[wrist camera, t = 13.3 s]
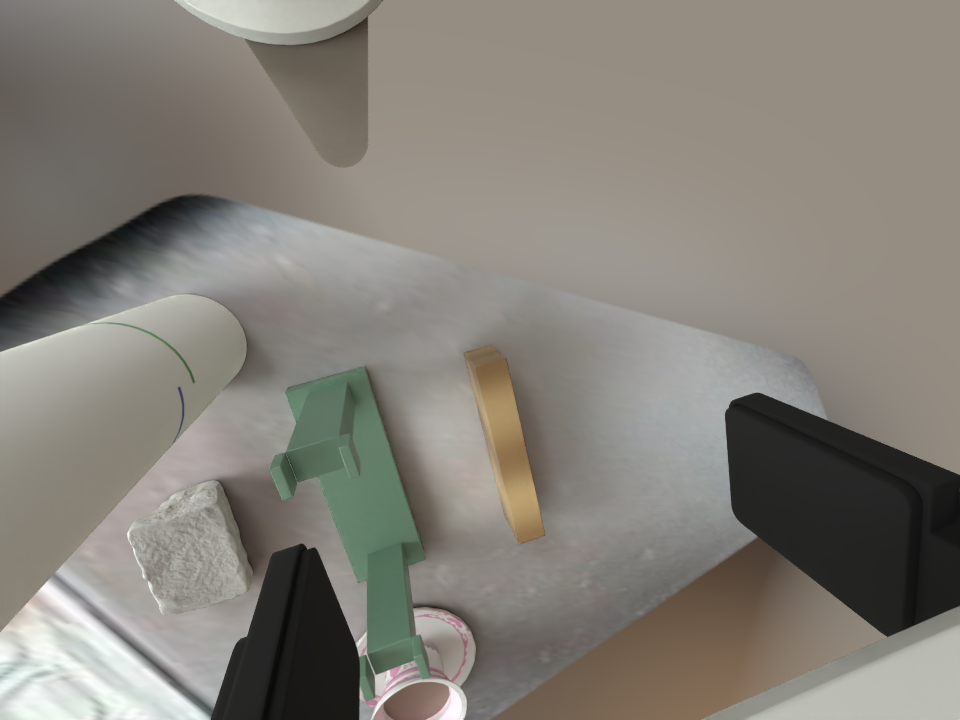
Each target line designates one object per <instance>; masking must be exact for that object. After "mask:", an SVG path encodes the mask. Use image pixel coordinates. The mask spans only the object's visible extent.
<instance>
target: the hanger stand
mask: <svg viewBox="0 0 960 720" xmlns="http://www.w3.org/2000/svg"><path fill="white" fill-rule="evenodd" d="M285 394H286V396H287V399H288V402H289V404H290V407H291V409H292V412H293V415H294V417H295V420H296V426H295V429H294V431H293V434H292V437H291V439H290V442H289V445H288V447H287V450H286V453H282V454H278V455H275V456H274V459H273V461H272V463H271V466H270V468H269V470H270V473H271V475H272V477H273V480H274V482H275V485H276V487H277V489H278V492H279V494H280V497H281V499H282V500H287V499H290V498H292V497H293V496H294V492H295V489H296V485H297V481H298V482H300V481H304V480H307V479H310V478H313V477H316V476H317V477H318V480H319V482H320V485H321V488H322V490H323V493H324V495H325V498H326V501H327V503H328V506H329V508H330V511H331V514H332V516H333V519H334V521H335V524H336V527H337V529H338V532H339V534H340V537H341V540H342V542H343V545H344V548H345V550H346V553H347V555H348V558H349V561H350V563H351V566H352V568H353V571H354V574H355V576H356V579H357V581H358V583H360V582H363V581H366V580H367V655H363V656H360V657H359V660H360V688H361V690H362V693H363V695H364V697H365V700H366V702H367V701H370V700H372V699H375V675H378V674H380V673H383V672H386V671H388V670H391V669H393V668H396V667H399V666H401V665H404V664H406V663H409V662H412V661H414V660H415V662H416V665H417V667H418V670H419V673H420V676H421V679H422V680H424V679H426V678H429V677H430V676H431V674H430V667H429V660H428V655H427V652H426V649H425V646H424V643H423V640H422V637H421V635H420V634H419V635H416V628H415V620H414V611H413V603H412V594H411V586H410V578H409V569H408V565H411V564H414V563H417V562H420V561H423V560H425V559H426V558H425V552H424V548H423V545H422V542H421V539H420V536H419V533H418V530H417V527H416V523H415V520H414V517H413V514H412V511H411V508H410V505H409V502H408V499H407V495H406V492H405V489H404V486H403V483H402V480H401V477H400V474H399V470H398V467H397V464H396V461H395V458H394V455H393V452H392V449H391V446H390V442H389V439H388V436H387V433H386V430H385V427H384V424H383V421H382V418H381V414H380V411H379V408H378V405H377V402H376V399H375V396H374V393H373V390H372V386H371V383H370V380H369V377H368V374H367V371H366V368H365V366H364V367H360V368H357V369H353V370H350V371H346V372H343V373H339V374H336V375H332V376H328V377H325V378H321V379H318V380H314V381H311V382H307V383H304V384H300V385H297V386H293V387H290V388H288V389H287V391H286V393H285ZM286 454H287V456H288V458H287V456H286ZM288 459H289V461H290V463H289V461H288ZM290 464H291V466H292V468H291V466H290ZM292 469H293V471H294V473H293V471H292ZM294 474H295V476H296V478H295V476H294ZM296 479H297V481H296ZM367 656H368V658H369V660H368V658H367ZM369 661H370V663H371V665H370V663H369ZM371 666H372V668H373V670H372V668H371ZM373 671H374V673H375V675H374V673H373Z"/></svg>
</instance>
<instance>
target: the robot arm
mask: <svg viewBox="0 0 960 720" xmlns="http://www.w3.org/2000/svg"><path fill="white" fill-rule="evenodd" d="M725 422H726V436H727V450H728V463H729V477H730V491H731V505H732V510H733V513H734V515H735V516H736V518H737V519H738V520H739V522H741V523H742V524H743V525H744V526H745V527H747V528H748V529H749V530H751V531H752V532H753V533H754V534H756V535H757V536H758V537H759V538H761V539H762V540H763V541H765V542H766V543H767V544H768V545H770V546H771V547H772V548H774V549H775V550H776V551H777V552H779V553H780V554H781V555H783V556H784V557H785V558H786V559H788V560H789V561H790V562H791V563H793V564H794V565H795V566H797V567H798V568H799V569H800V570H802V571H803V572H804V573H806V574H807V575H808V576H809V577H811V578H812V579H813V580H815V581H816V582H817V583H818V584H820V585H821V586H822V587H823V588H825V589H826V590H827V591H829V592H830V593H831V594H833V595H834V596H835V597H836V598H838V599H839V600H840V601H842V602H843V603H844V604H845V605H847V606H848V607H849V608H850V609H852V610H853V611H854V612H855V613H857V614H858V615H859V616H861V617H862V618H863V619H864V620H866V621H867V622H868V623H870V624H871V625H872V626H873V627H875V628H876V629H877V630H879V631H880V632H881V633H883V634H884V635H886V636H887V638H885V639H882V640H880V641H878V642H875V643H873V644H871V645H869V646H866V647H864V648H862V649H859V650H857V651H855V652H853V653H850V654H848V655H846V656H843V657H841V658H839V659H836V660H834V661H832V662H830V663H827V664H825V665H823V666H820V667H818V668H816V669H814V670H812V671H809V672H807V673H805V674H802V675H800V676H798V677H796V678H793V679H791V680H789V681H787V682H784V683H782V684H780V685H778V686H775V687H773V688H771V689H768V690H766V691H764V692H762V693H759V694H757V695H755V696H753V697H750V698H748V699H746V700H744V701H742V702H739V703H737V704H735V705H733V706H730V707H728V708H726V709H723V710H721V711H719V712H717V713H714V714H712V715H710V716H708V717H706V718H703V719H701V720H960V475H958V474H956V473H954V472H951V471H949V470H946V469H944V468H941V467H939V466H936V465H934V464H932V463H929V462H927V461H924V460H922V459H919V458H917V457H915V456H912V455H909V454H907V453H905V452H902V451H900V450H898V449H895V448H893V447H890V446H888V445H885V444H883V443H881V442H878V441H875V440H873V439H871V438H868V437H866V436H864V435H861V434H859V433H856V432H854V431H851V430H849V429H846V428H844V427H841V426H839V425H837V424H834V423H832V422H829V421H827V420H825V419H822V418H820V417H817V416H815V415H812V414H810V413H808V412H805V411H803V410H800V409H798V408H795V407H793V406H791V405H788V404H786V403H783V402H781V401H778V400H776V399H774V398H771V397H769V396H766V395H764V394H761V393H753V394H750V395H747V396H744V397H741V398H738V399H735V400H733V401H732V402H731V403H730V405H729V408H728V409H727V410H726V412H725ZM359 701H360V660H359V654H358V650H357V647H356V644H355V641H354V639H353V637H352V634H351V632H350V629H349V627H348V624H347V622H346V619H345V617H344V614H343V612H342V609H341V607H340V605H339V602H338V600H337V597H336V595H335V592H334V590H333V587H332V585H331V582H330V580H329V577H328V575H327V573H326V570H325V568H324V565H323V563H322V560H321V558H320V555H319V553H318V551H317V549H316V548H311V549H308V550H307V548H306V546H305V545H304V544H299V545H296V546H293V547H290V548H287V549H284V550H281V551H278V552H275V553H273V554H272V556H271V559H270V562H269V565H268V569H267V572H266V575H265V579H264V582H263V585H262V589H261V592H260V595H259V599H258V602H257V605H256V609H255V612H254V615H253V619H252V622H251V625H250V629H249V632H248V635H247V637H244V638H242V639H240V640H239V641H238V642H237V643H236V645H235V647H234V650H233V652H232V655H231V658H230V661H229V664H228V667H227V671H226V674H225V677H224V680H223V683H222V686H221V689H220V692H219V695H218V698H217V701H216V705H215V708H214V711H213V714H212V717H211V720H359Z"/></svg>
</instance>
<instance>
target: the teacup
mask: <svg viewBox="0 0 960 720" xmlns="http://www.w3.org/2000/svg"><path fill="white" fill-rule="evenodd" d="M413 611H414V620H415V628H416V635H419V634H420V635H421V637H422V640H423V643H424V646H425V649H426V652H427V655H428V660H429V667H430V674H431V676H430V677H429V678H426V679H424V680H422V679H421V676H420V673H419V670H418V667H417V665H416V662H415V660H414V661H412V662H409V663H406V664H404V665H401V666H399V667H396V668H393V669H391V670H388V671H386V672H383V673H380V674H378V675H375V673H374V671H373V673H374V675H375V699H372V700H370V701H367V702H366V700H365V697H364V695H363V693H362V690H361V688H360V699H361V700H362V701H363V702H364V703H366V704H367V705H368V706H371V707H373V708H374V711H373V715H372V719H371V720H463V719H464V717H465V714H466V710H467V699H466V696H465V693H464V692H463V690H462V689H461V688H460V686H461V685H462V684H463V683H464V681H465V680H466V679H467V678H468V676H469V674H470V672H471V669H472V667H473V665H474V663H475V652H476V645H475V642H474V638H473V635H472V632H471V630H470V628H469V627H468V626H467V625H466V624H465V623H464V621H463V620H462V619H461V618H460V617H458V616H456V615H454V614H452V613H450V612H448V611H446V610H442V609H436V608H430V607H421V608H413ZM356 647H357V650H358V654H359V657H360V656H363V655H367V631H366V632H365V634H364V635H363V636H362V637H361V638H360V640H359V641H358V642H357V643H356ZM367 658H368V656H367ZM368 660H369V658H368ZM369 663H370V661H369ZM370 665H371V663H370ZM371 668H372V666H371ZM372 670H373V668H372Z"/></svg>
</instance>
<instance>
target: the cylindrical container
mask: <svg viewBox="0 0 960 720" xmlns="http://www.w3.org/2000/svg"><path fill="white" fill-rule="evenodd" d="M246 354H247V342H246V336H245V334H244V331H243V328H242V326H241V325H240V323H239V322H238V320H237V318H236V317H235V316H234V315H233V314H232V313H231V312H230V311H229V310H228V309H226V308H225V307H224V306H222V305H221V304H219V303H217V302H215V301H213V300H211V299H209V298H205V297H202V296H198V295H190V294H185V295H175V296H170V297H166V298H163V299H160V300H157V301H154V302H151V303H148V304H145V305H142V306H139V307H136V308H133V309H130V310H127V311H124V312H121V313H118V314H115V315H112V316H109V317H106V318H103V319H100V320H97V321H93V322H90V323H87V324H84V325H81V326H79V327H75V328H72V329H69V330H66V331H63V332H60V333H57V334H54V335H51V336H48V337H45V338H42V339H39V340H36V341H33V342H30V343H26V344H23V345H20V346H17V347H14V348H11V349H8V350H5V351H2V352H0V632H1V631H2V630H3V628H4V627H5V626H6V625H7V624H8V623H9V622H10V621H11V620H12V619H13V618H14V617H15V615H16V614H17V613H18V612H19V611H20V610H21V609H22V608H23V607H24V606H25V605H26V603H27V602H28V601H29V600H30V599H31V598H32V597H33V596H34V595H35V594H36V593H37V592H38V590H39V589H40V588H41V587H42V586H43V585H44V584H45V583H46V582H47V581H48V580H49V579H50V577H51V576H52V575H53V574H54V573H55V572H56V571H57V570H58V569H59V568H60V567H61V565H62V564H63V563H64V562H65V561H66V560H67V559H68V558H69V557H70V556H71V555H72V554H73V552H74V551H75V550H76V549H77V548H78V547H79V546H80V545H81V544H82V543H83V542H84V540H85V539H86V538H87V537H88V536H89V535H90V534H91V533H92V532H93V531H94V530H95V529H96V527H97V526H98V525H99V524H100V523H101V522H102V521H103V520H104V519H105V518H106V517H107V515H108V514H109V513H110V512H111V511H112V510H113V509H114V508H115V507H116V506H117V505H118V503H119V502H120V501H121V500H122V499H123V498H124V497H125V496H126V495H127V494H128V492H129V491H130V490H131V489H132V488H133V487H134V486H135V485H136V484H137V483H138V482H139V480H140V479H141V478H142V477H143V476H144V475H145V474H146V473H147V472H148V471H149V470H150V468H151V467H152V466H153V465H154V464H155V463H156V462H157V461H158V460H159V459H160V458H161V456H162V455H163V454H164V453H165V452H166V451H167V450H168V449H169V448H170V447H171V446H172V444H173V443H174V442H175V441H176V440H177V439H178V438H179V437H180V436H181V435H182V434H183V433H184V431H185V430H186V429H187V428H188V427H189V426H190V425H191V424H192V423H193V422H194V421H195V420H196V418H197V417H198V416H199V415H200V414H201V413H202V412H203V411H204V410H205V409H206V408H207V407H208V405H209V404H210V403H211V402H212V401H213V400H214V399H215V398H216V397H217V396H218V394H219V393H220V392H221V391H222V390H223V389H224V388H225V387H226V386H227V385H228V384H229V382H230V381H231V380H232V379H233V378H234V377H235V376H236V375H237V373H238V372H239V371H240V369H241V368H242V366H243V364H244V361H245V358H246Z"/></svg>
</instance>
